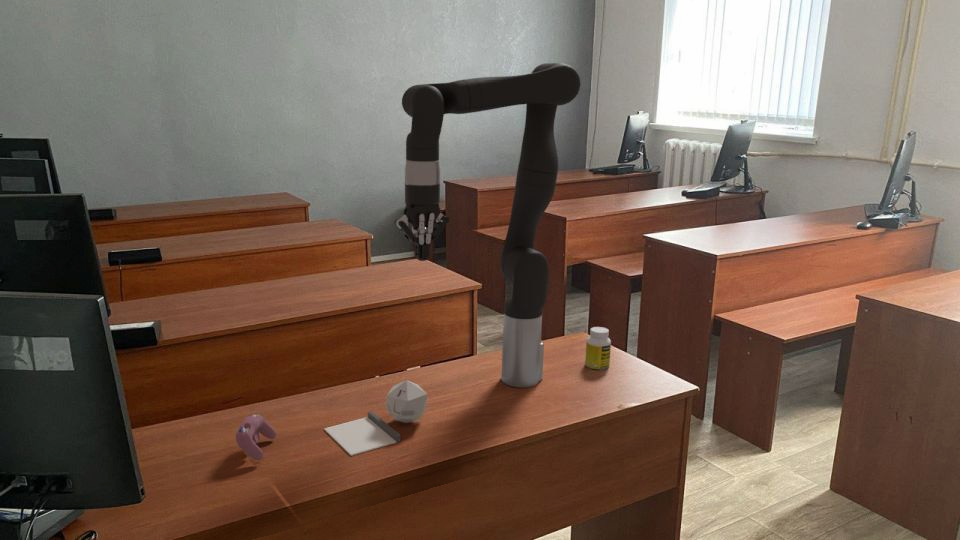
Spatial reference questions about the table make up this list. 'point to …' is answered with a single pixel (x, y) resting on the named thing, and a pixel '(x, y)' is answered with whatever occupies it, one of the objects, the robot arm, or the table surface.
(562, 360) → the table surface
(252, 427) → the video game controller
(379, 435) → the white l-shaped plate
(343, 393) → the table surface
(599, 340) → the pill bottle
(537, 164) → the robot arm
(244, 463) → the table surface
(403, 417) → the die
